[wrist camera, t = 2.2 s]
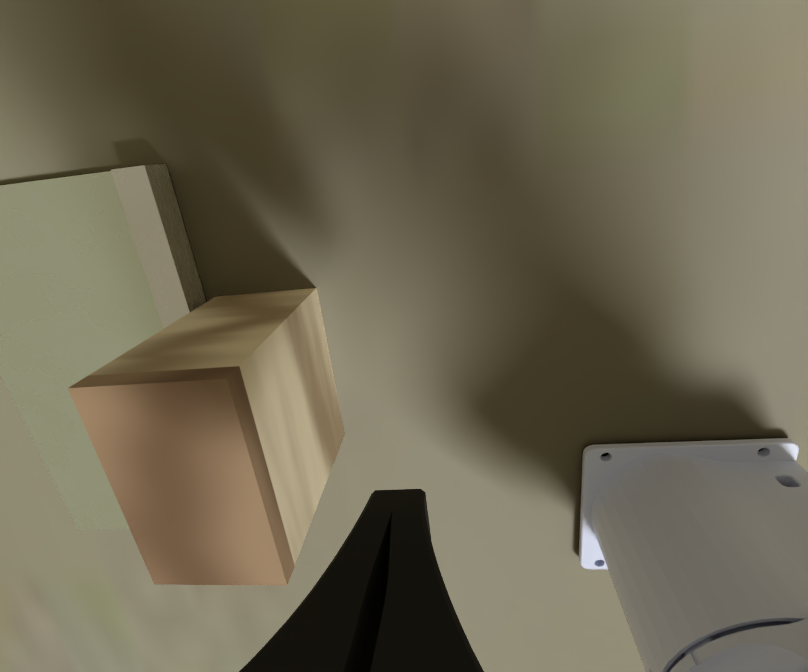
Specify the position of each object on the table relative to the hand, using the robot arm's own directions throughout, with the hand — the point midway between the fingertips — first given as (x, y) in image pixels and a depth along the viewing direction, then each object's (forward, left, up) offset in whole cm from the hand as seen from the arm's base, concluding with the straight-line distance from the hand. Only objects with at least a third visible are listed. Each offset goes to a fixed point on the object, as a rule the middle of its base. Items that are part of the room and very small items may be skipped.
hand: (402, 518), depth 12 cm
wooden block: (+7, 0, -10) cm, 13 cm away
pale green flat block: (+17, 0, -10) cm, 20 cm away
